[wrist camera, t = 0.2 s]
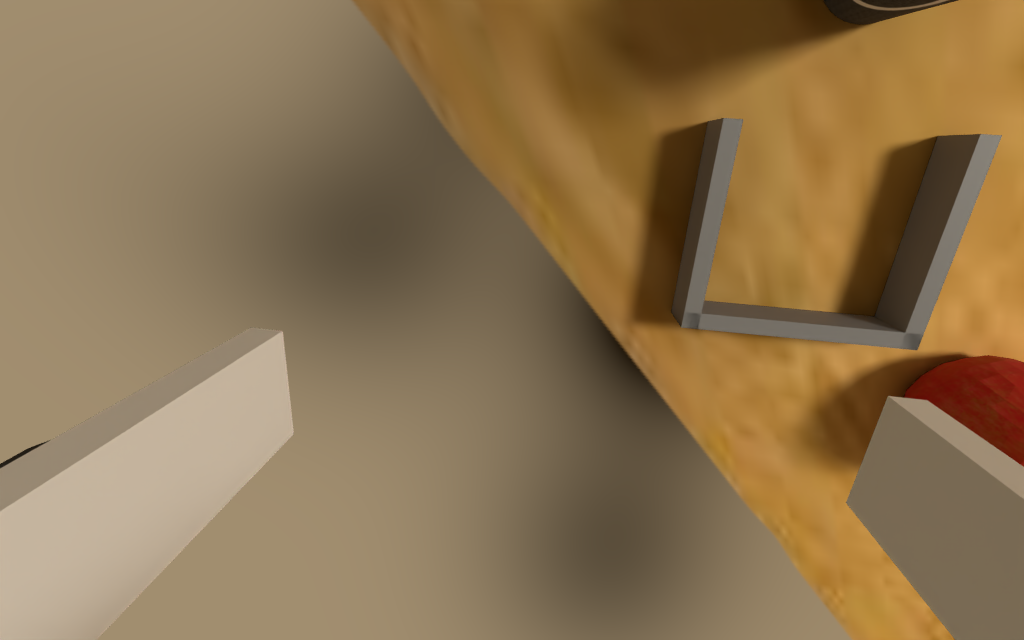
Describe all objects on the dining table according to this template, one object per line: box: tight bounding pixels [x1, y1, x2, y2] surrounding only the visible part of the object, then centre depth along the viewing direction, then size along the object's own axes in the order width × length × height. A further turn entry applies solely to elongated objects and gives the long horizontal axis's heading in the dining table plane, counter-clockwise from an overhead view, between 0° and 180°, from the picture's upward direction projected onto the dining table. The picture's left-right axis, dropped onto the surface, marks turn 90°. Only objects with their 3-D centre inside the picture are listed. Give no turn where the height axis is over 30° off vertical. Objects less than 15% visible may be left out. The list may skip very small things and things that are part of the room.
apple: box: [904, 355, 1024, 467], centre depth 33 cm, size 10×10×10 cm
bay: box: [671, 118, 1002, 350], centre depth 33 cm, size 14×16×4 cm
